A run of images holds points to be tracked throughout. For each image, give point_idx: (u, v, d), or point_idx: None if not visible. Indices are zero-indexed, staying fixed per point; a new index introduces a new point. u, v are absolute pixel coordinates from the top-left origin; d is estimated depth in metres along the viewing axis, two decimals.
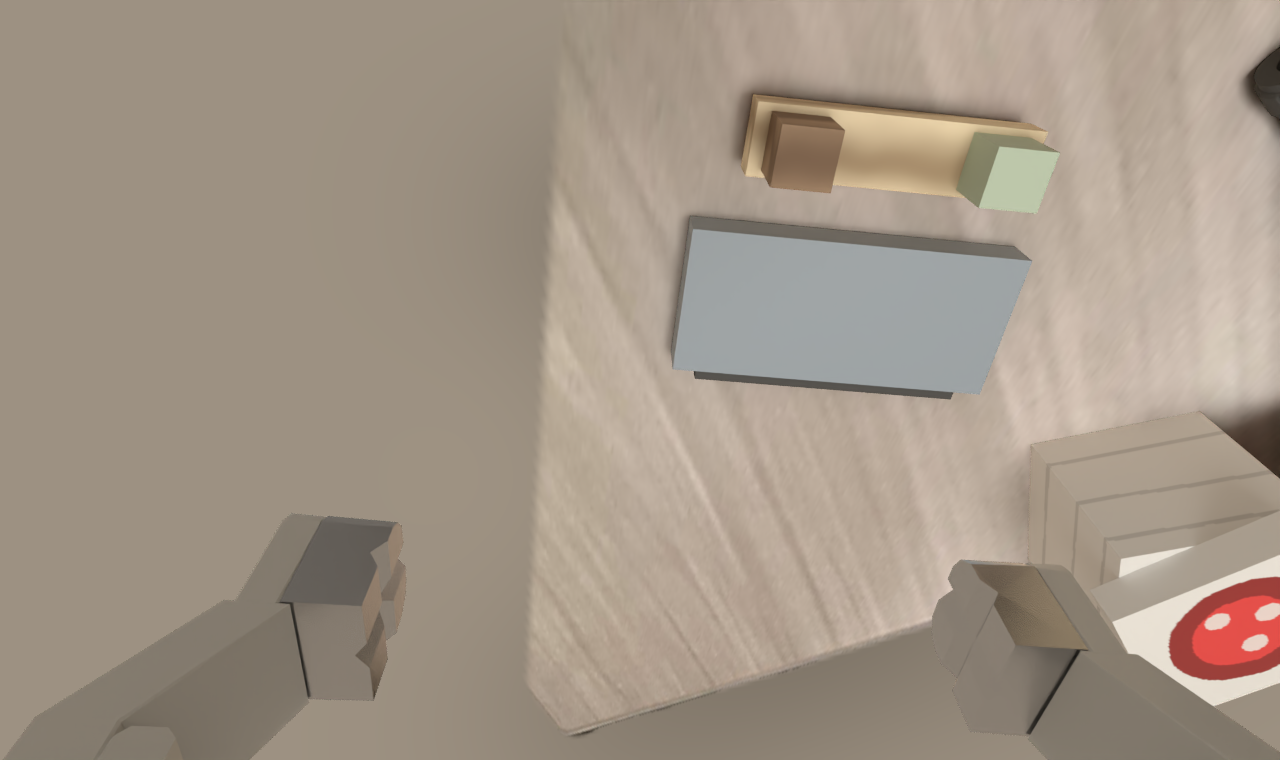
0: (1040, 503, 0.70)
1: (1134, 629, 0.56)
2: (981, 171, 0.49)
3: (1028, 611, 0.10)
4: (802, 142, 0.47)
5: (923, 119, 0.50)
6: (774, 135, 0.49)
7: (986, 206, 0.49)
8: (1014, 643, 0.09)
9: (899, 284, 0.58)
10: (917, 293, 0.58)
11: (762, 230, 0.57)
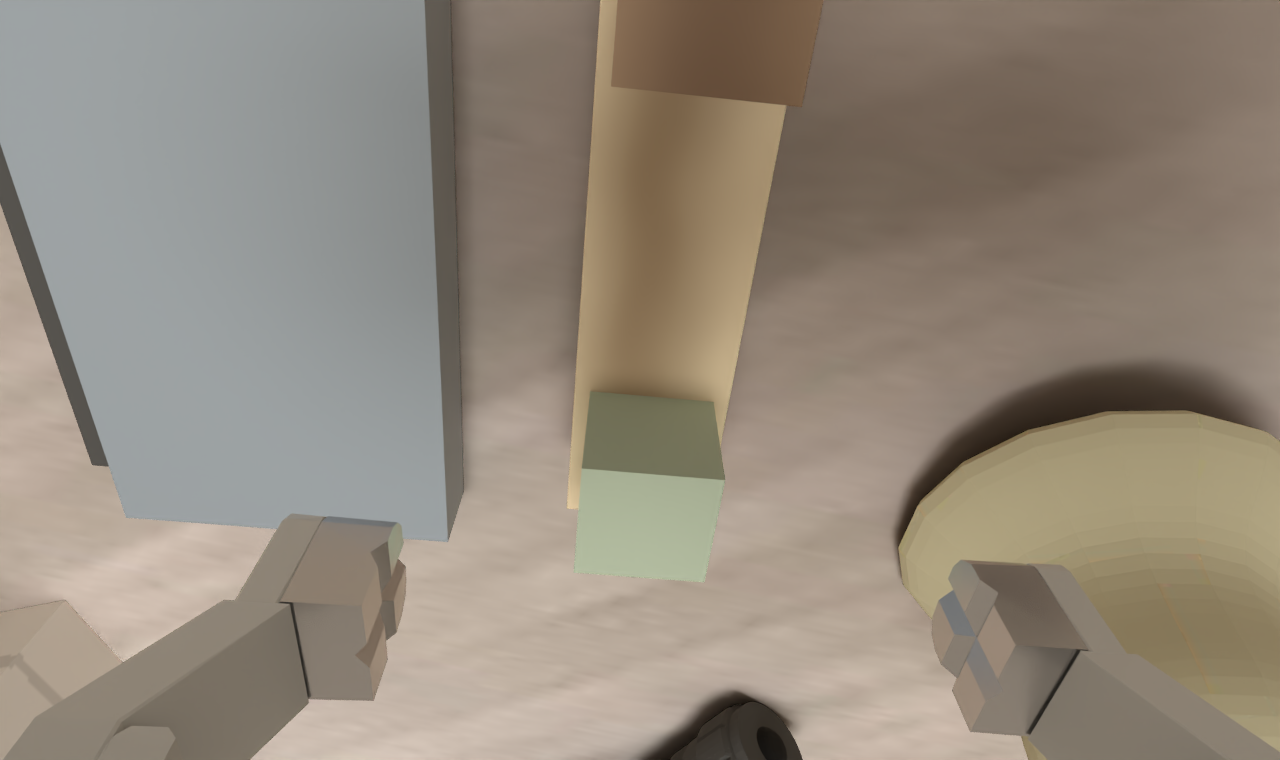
0: None
1: None
2: (656, 448, 0.22)
3: (1028, 611, 0.10)
4: None
5: (746, 299, 0.22)
6: None
7: (585, 483, 0.21)
8: (1014, 643, 0.09)
9: (347, 311, 0.24)
10: (333, 354, 0.24)
11: None
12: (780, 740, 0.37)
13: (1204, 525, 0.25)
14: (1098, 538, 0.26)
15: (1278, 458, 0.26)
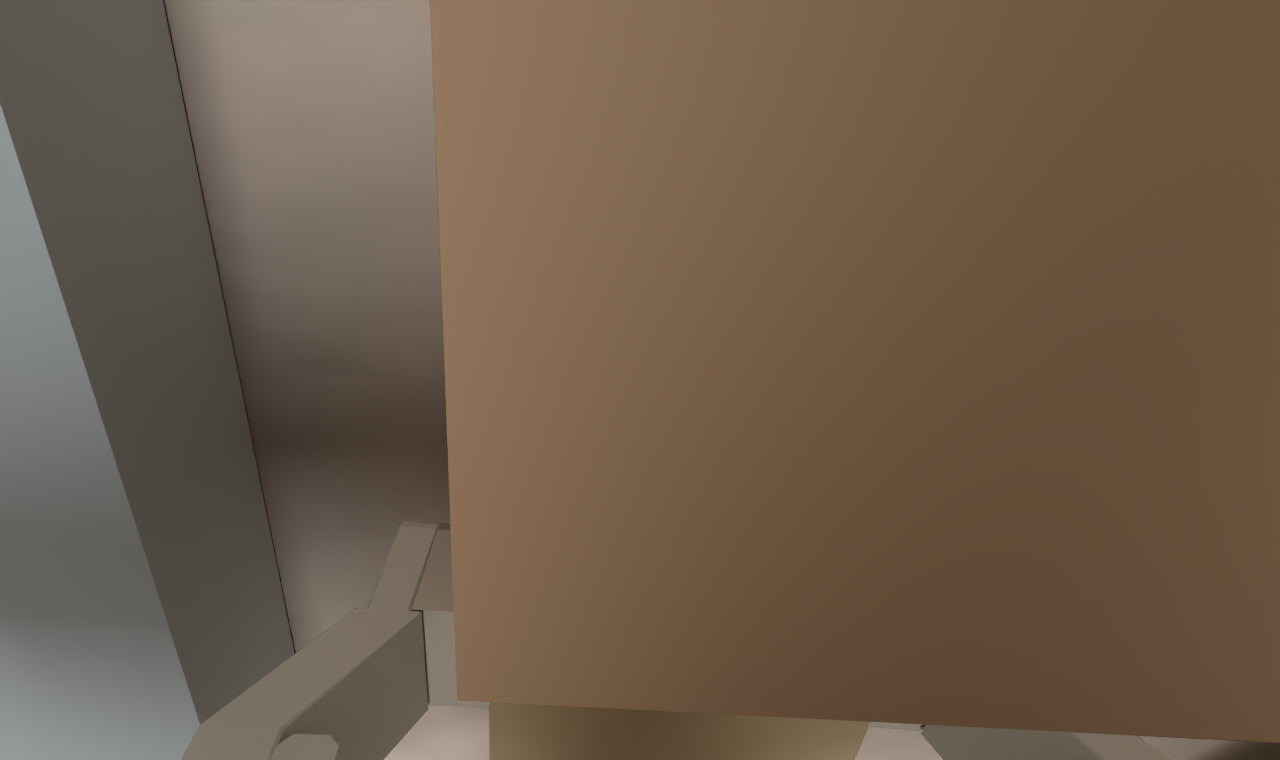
0: None
1: None
2: None
3: None
4: None
5: (853, 750, 0.10)
6: None
7: None
8: None
9: (14, 735, 0.11)
10: None
11: None
12: None
13: None
14: None
15: None
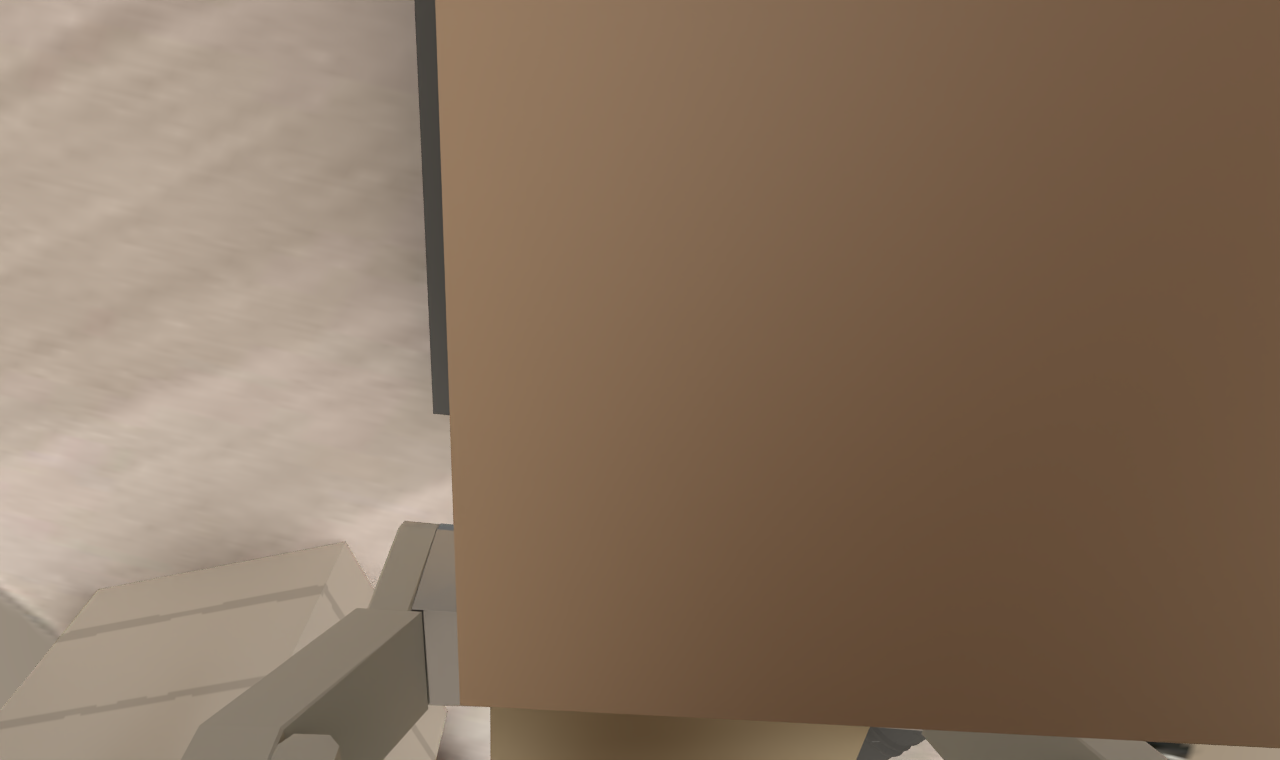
0: (233, 590, 0.39)
1: None
2: None
3: None
4: None
5: (854, 752, 0.10)
6: None
7: None
8: None
9: None
10: None
11: None
12: None
13: None
14: None
15: None
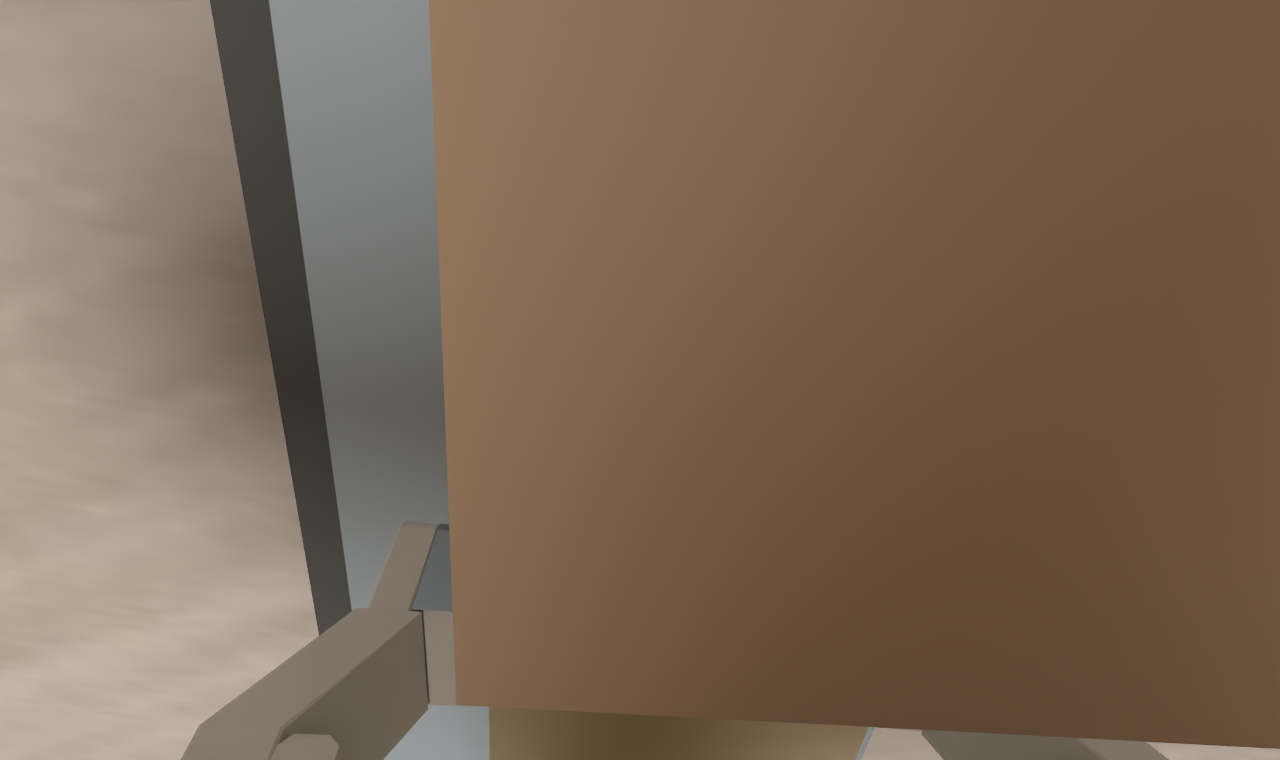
0: None
1: None
2: None
3: None
4: None
5: (852, 752, 0.10)
6: None
7: None
8: None
9: None
10: None
11: None
12: None
13: None
14: None
15: None
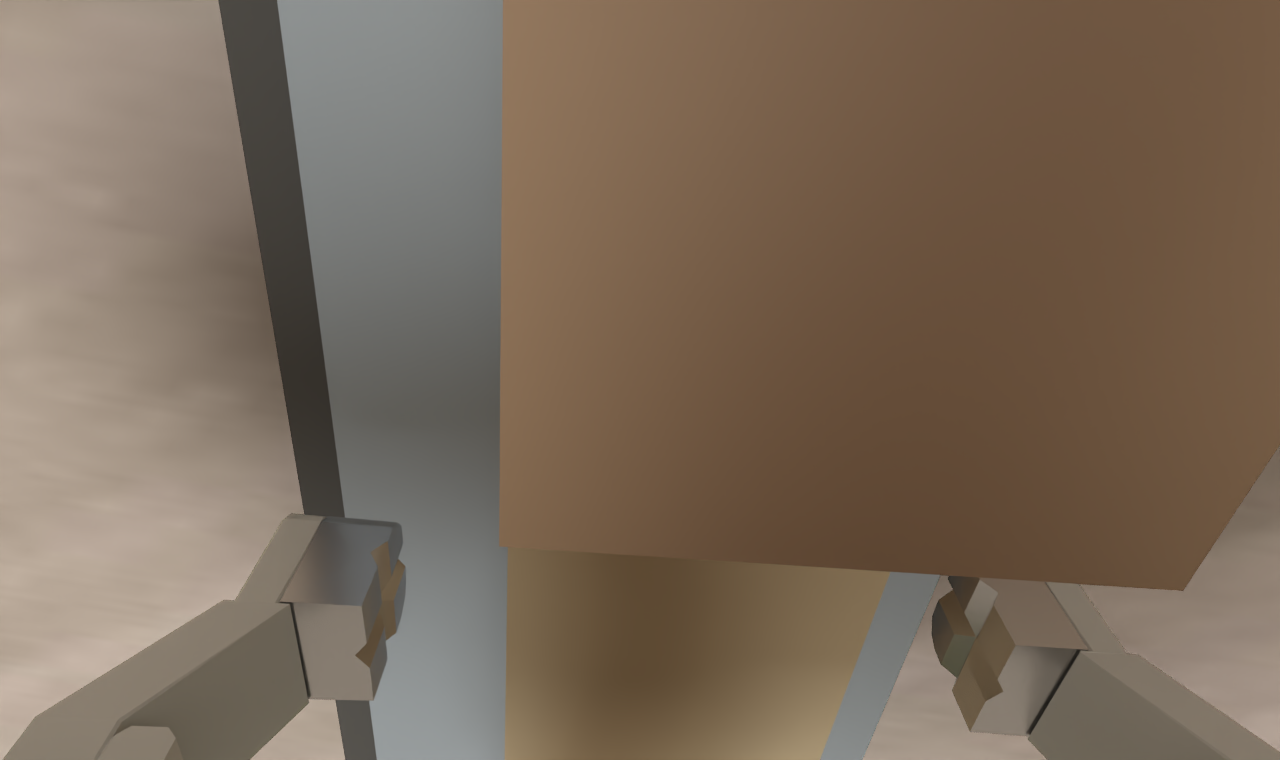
0: None
1: None
2: None
3: (1028, 611, 0.10)
4: (1240, 144, 0.03)
5: (841, 689, 0.11)
6: None
7: None
8: (1014, 643, 0.09)
9: None
10: None
11: None
12: None
13: None
14: None
15: None
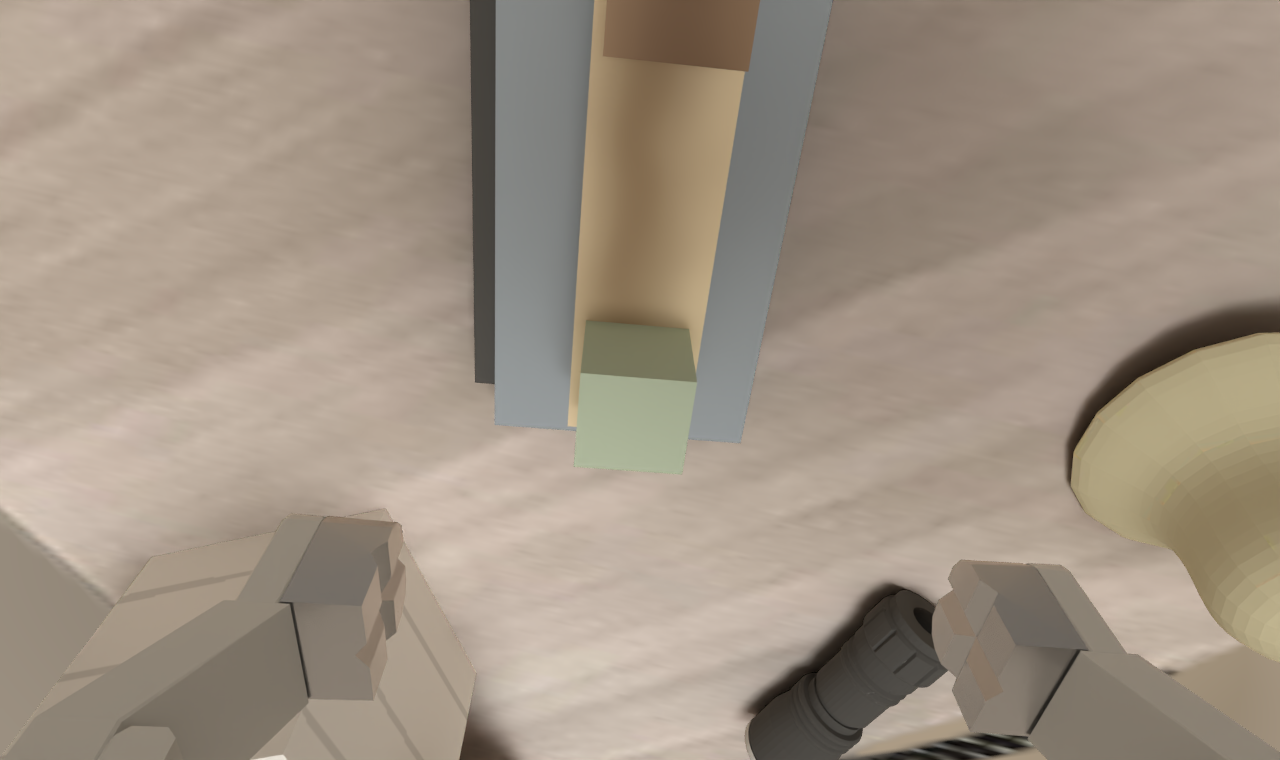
0: None
1: None
2: (641, 360, 0.27)
3: (1028, 611, 0.10)
4: None
5: (716, 239, 0.27)
6: None
7: (583, 385, 0.26)
8: (1014, 643, 0.09)
9: None
10: None
11: None
12: None
13: None
14: (1256, 426, 0.34)
15: None
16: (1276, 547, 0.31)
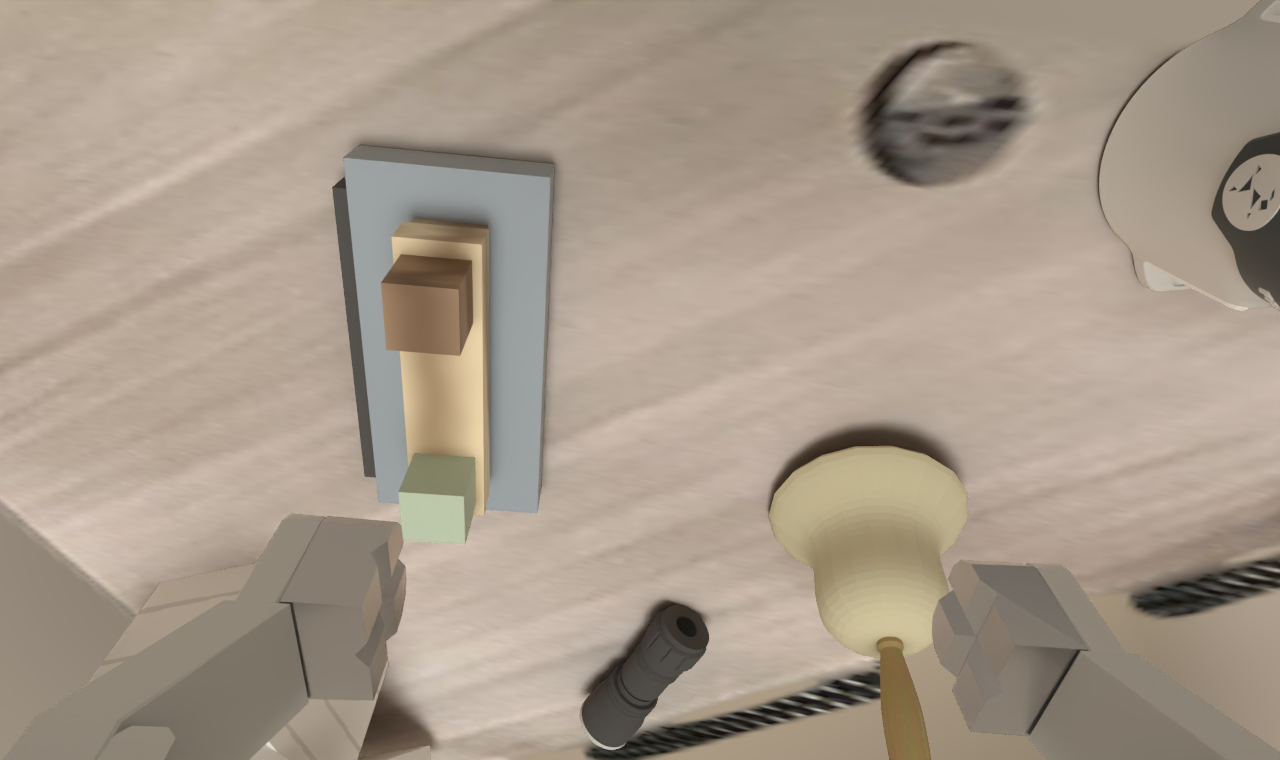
0: None
1: None
2: (437, 482, 0.47)
3: (1028, 611, 0.10)
4: (440, 313, 0.40)
5: (482, 411, 0.48)
6: (444, 274, 0.41)
7: (401, 498, 0.46)
8: (1014, 643, 0.09)
9: (500, 406, 0.52)
10: (491, 424, 0.53)
11: (548, 255, 0.48)
12: (691, 622, 0.65)
13: (894, 499, 0.54)
14: (848, 506, 0.55)
15: (932, 468, 0.55)
16: (837, 583, 0.52)
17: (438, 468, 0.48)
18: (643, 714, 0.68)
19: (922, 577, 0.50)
